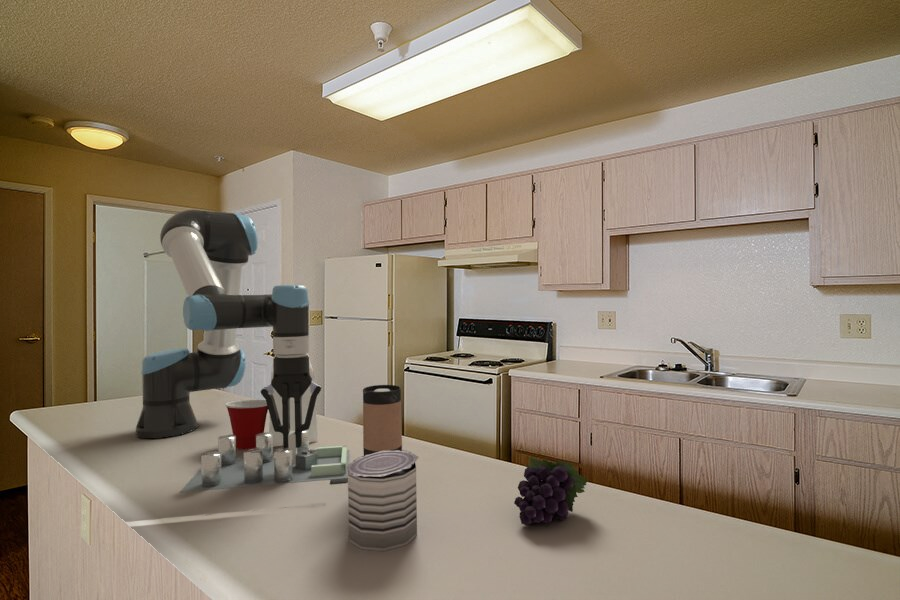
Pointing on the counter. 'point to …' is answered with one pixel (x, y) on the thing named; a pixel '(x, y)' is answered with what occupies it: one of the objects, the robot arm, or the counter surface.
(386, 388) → the travel mug
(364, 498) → the can
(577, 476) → the fruit
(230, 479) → the board
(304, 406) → the milk
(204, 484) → the spacers
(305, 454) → the nut
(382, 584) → the counter surface
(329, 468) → the parts pocket
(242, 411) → the plastic cup
